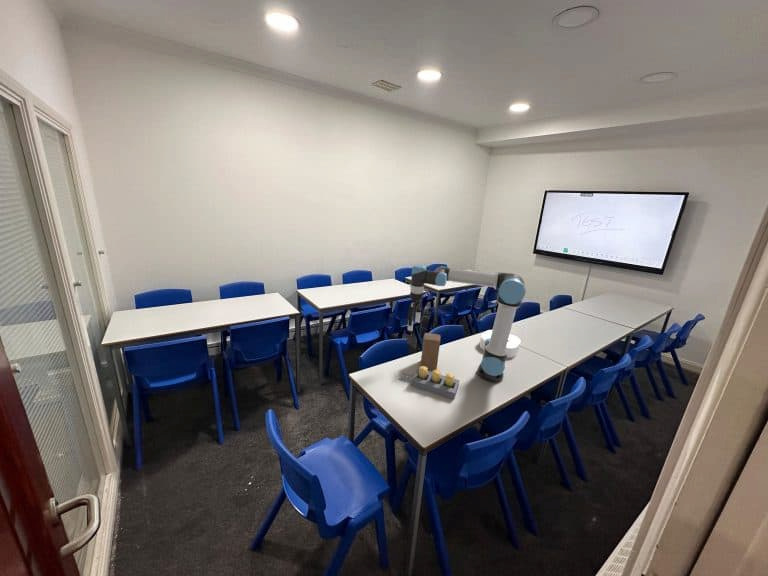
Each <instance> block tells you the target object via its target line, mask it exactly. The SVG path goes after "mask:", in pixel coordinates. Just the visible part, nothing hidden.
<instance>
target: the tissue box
mask: <svg viewBox="0 0 768 576" xmlns="http://www.w3.org/2000/svg"><path fill="white" fill-rule="evenodd" d="M492 330H493V329H488V330H486V331H484V333H483V334H481V335H480V342H479V347H480V349H481V350H483V351H484V347H485V341H486V339H488V338H491V334H492ZM521 341H522V340H521V338H519V337H517V336H516V335H514V334H511V333H510V334H509V338H508V342H507V345H506V350H507V352H508V354H507V357H506V359H507V358H514V357H516V356H517V355H518V353H519V351H520V347H521V343H522V342H521Z"/></svg>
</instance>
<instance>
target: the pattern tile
mask: <svg viewBox="0 0 768 576" xmlns="http://www.w3.org/2000/svg"><path fill="white" fill-rule="evenodd" d="M414 375H415V374H414ZM414 375H413V374H411V373H407V372H403V373H402V374H401V376H399V380H400V381H403V382H407V383H410V384H411V380H412V378H413V377H414Z"/></svg>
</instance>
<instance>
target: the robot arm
mask: <svg viewBox="0 0 768 576" xmlns="http://www.w3.org/2000/svg"><path fill="white" fill-rule="evenodd" d="M447 282H451V283H461V284H466V285H472V286H473V285H474V286H480V287H489V288H494V290H497V291H498V293H497V298H496V302H497V304H498V305H497V306H498V307H497V311H496V315H495V319H494V323H493V327H492V329H491V330H492V334H491V338H488V339H486V341H485V347H484V350H483V353H482V357H481V358H482V359H481V361H480V364H479V365H478V367H477V370H476V374H477V375H478V377H479V378H480V379H482V380H485V381H487V382H491V383H499V382H502V381H503V380H504V377H505V376H504V370H505V369H506V367H505V365H506V361H507V354H508V352H507V350H506V345H507V342H508V338H509V334H511V331H512V330H511V329H512V326H513V323H514V319H515V317H516V313H517V309H518V308H520V307H521V306H522V302H523V299H524V298H525V295H526V291H527V290H526V286H525V282H524V280H523V278H522V276H520V275H518V274H516V273H510V272H509V273H508V272H500V271H499V272H496V273H491V272H485V271H477V270H476V271H475V270H468V269H467V270H466V269H458V268H452V267H450V268H449V267H446V266H444V265H440V266H438V267H436V268H435V270H429V269H428V270H427V269H426V266H425V265H421V264H414V265H413V266H412V269H411V280H410V286H409V287H410V292H409V299H410V300H412V301H411V302H410V304H409V309H408V313H407V318H406V320H407V321H408V322H407V331H410V332H413V328H414V327H413V326H414V322H415V323H418V324H419V323H421V314H422V313H423V307H422V305H423V303H422V300H423V299H424V290H425V285H433V286H436V287H445V286H446V284H447ZM414 316H415V319H414Z"/></svg>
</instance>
